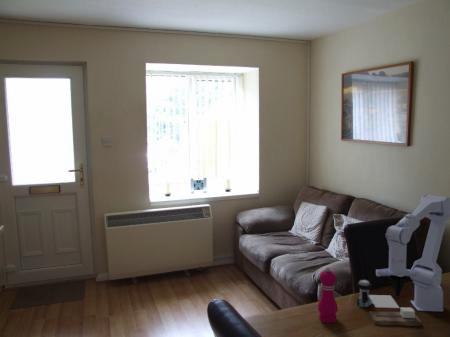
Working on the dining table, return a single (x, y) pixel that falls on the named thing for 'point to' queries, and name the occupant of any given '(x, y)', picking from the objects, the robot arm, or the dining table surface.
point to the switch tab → (407, 312)
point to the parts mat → (383, 301)
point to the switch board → (392, 319)
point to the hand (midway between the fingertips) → (396, 294)
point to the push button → (364, 293)
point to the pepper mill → (327, 297)
